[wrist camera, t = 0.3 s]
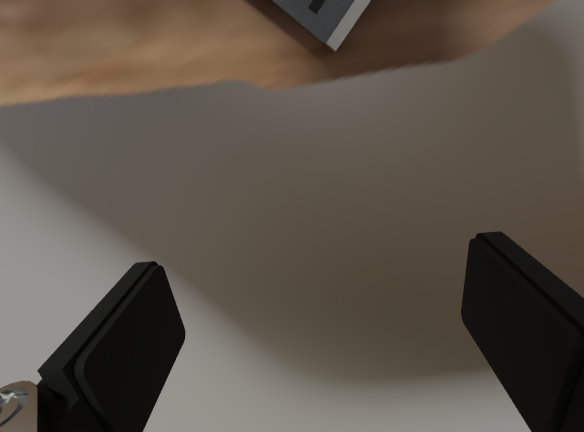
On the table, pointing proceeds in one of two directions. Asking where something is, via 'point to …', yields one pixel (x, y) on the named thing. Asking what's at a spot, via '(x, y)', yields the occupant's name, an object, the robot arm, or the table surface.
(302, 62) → the table surface
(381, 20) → the table surface
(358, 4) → the console
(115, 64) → the table surface
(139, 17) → the table surface
